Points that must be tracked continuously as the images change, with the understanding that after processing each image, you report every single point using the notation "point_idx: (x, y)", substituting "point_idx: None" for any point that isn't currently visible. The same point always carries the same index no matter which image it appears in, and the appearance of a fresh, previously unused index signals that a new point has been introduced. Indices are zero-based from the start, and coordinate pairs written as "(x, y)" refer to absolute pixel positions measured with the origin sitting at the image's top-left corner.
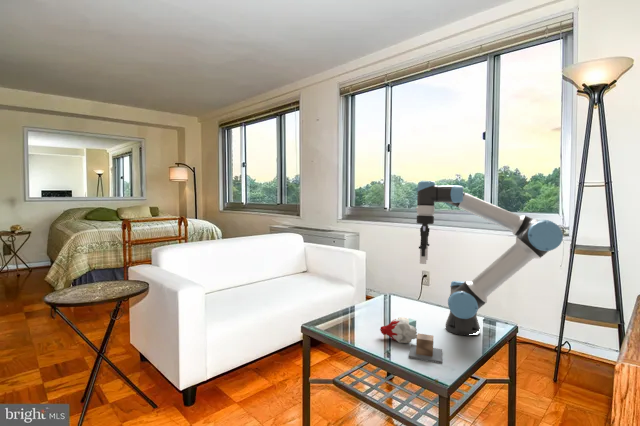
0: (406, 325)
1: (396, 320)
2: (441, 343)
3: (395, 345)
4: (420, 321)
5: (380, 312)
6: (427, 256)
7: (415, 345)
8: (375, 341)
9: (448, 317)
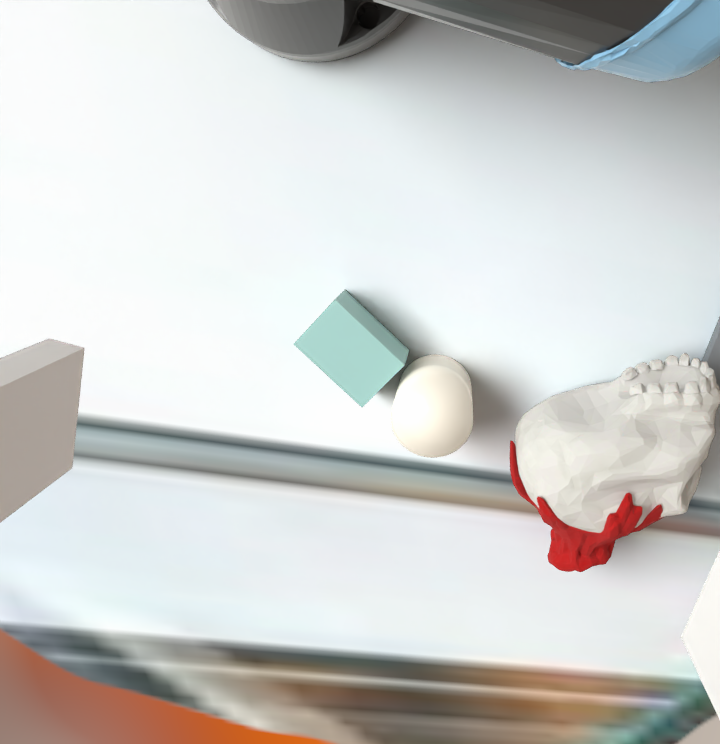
0: (705, 455)
1: (584, 504)
2: (620, 166)
3: None
4: (178, 226)
5: None
6: (32, 373)
7: (714, 361)
8: (627, 571)
9: (289, 23)
